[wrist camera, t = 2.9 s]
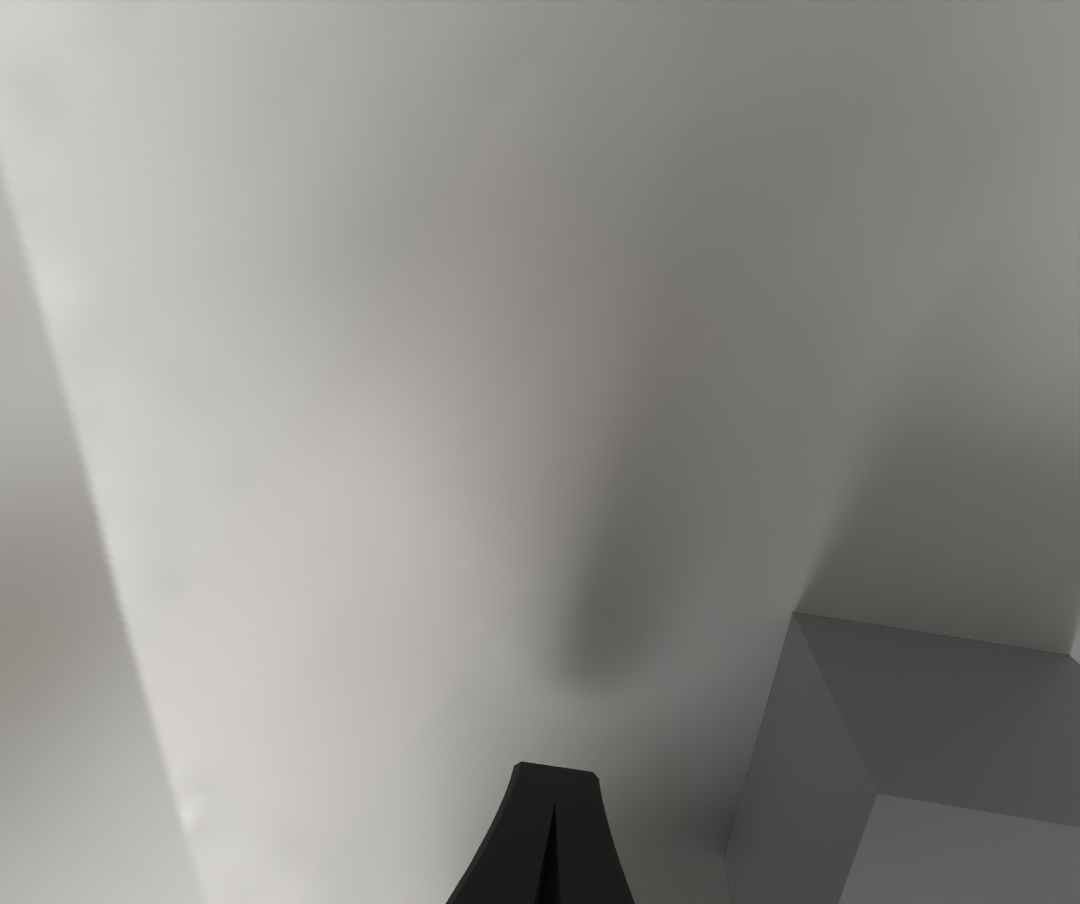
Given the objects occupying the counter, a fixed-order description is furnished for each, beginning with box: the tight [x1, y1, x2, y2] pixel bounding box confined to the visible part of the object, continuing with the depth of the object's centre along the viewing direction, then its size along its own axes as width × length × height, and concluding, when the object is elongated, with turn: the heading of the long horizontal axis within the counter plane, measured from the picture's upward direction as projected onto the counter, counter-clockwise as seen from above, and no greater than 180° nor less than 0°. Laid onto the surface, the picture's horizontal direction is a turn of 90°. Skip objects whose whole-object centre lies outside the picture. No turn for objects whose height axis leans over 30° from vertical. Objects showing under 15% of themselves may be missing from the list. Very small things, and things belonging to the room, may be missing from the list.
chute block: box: [724, 612, 1080, 904], centre depth 12 cm, size 6×5×4 cm
